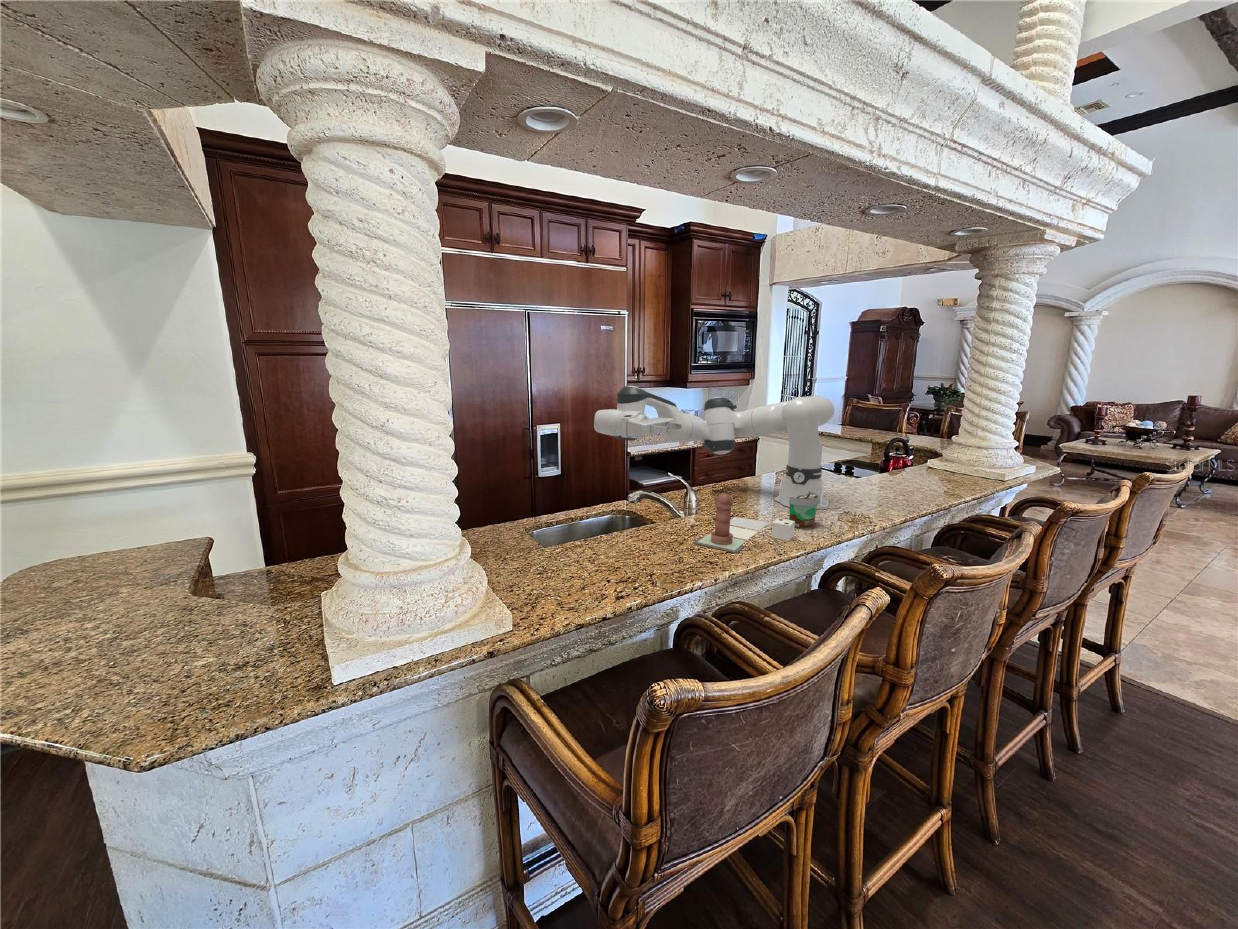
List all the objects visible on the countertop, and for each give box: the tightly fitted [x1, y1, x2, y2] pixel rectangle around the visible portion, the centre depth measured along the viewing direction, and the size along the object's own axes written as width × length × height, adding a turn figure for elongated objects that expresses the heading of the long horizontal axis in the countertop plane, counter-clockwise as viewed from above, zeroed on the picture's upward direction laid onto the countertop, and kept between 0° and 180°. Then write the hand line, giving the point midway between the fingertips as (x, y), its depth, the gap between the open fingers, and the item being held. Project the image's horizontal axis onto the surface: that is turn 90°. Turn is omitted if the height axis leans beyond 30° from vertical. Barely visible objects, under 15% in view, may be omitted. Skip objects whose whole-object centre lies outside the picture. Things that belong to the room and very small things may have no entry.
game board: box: [692, 516, 769, 554], centre depth 149 cm, size 31×13×1 cm, turn 146°
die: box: [770, 517, 795, 542], centre depth 145 cm, size 5×5×5 cm
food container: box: [788, 491, 820, 529], centre depth 155 cm, size 12×6×10 cm, turn 131°
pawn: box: [711, 492, 734, 545], centre depth 139 cm, size 6×6×14 cm
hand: (674, 428), depth 154 cm, fingers open, 8 cm apart
